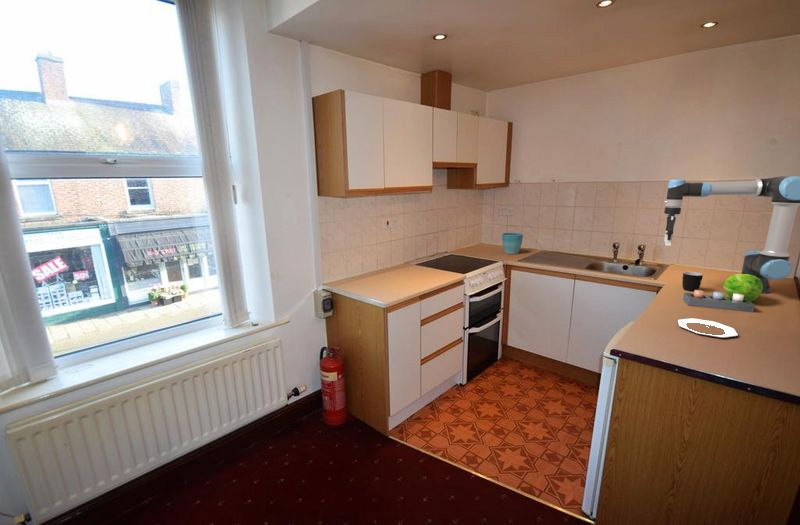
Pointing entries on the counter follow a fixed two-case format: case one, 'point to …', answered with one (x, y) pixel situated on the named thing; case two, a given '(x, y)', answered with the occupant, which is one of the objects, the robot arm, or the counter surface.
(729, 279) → the lettuce
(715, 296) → the key slate
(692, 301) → the panel
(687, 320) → the plate
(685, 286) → the mug
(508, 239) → the flower pot
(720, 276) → the counter surface
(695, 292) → the key rust
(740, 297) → the key ivory
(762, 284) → the robot arm
